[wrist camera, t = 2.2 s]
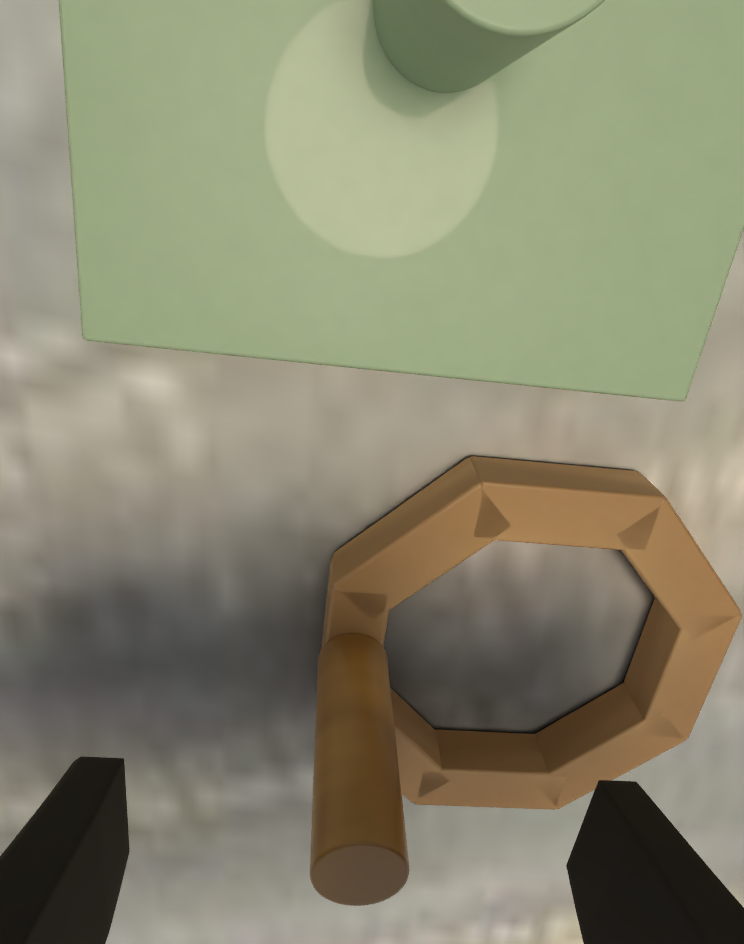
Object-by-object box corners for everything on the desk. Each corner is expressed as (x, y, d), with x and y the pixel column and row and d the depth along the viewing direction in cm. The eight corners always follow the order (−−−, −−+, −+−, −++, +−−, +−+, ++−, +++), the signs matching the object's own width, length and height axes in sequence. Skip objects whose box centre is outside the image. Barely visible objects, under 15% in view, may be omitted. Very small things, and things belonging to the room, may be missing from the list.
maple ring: (305, 758, 16) (290, 1037, 11) (337, 442, 12) (338, 633, 7) (634, 772, 16) (767, 1037, 11) (753, 480, 13) (1020, 675, 8)
